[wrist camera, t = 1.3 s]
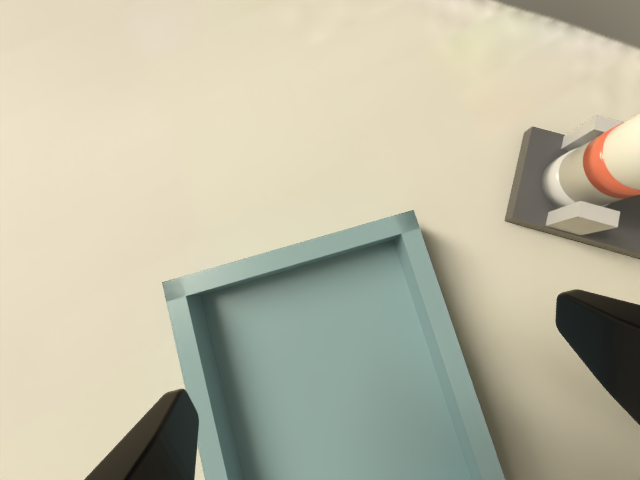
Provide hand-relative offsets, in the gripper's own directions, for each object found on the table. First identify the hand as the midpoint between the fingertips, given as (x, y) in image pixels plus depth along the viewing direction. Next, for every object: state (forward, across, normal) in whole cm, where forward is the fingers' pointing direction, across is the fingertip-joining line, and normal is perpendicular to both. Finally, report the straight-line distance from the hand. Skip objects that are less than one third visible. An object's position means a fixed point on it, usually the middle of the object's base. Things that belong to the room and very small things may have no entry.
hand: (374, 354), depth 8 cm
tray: (+12, +2, +12) cm, 17 cm away
